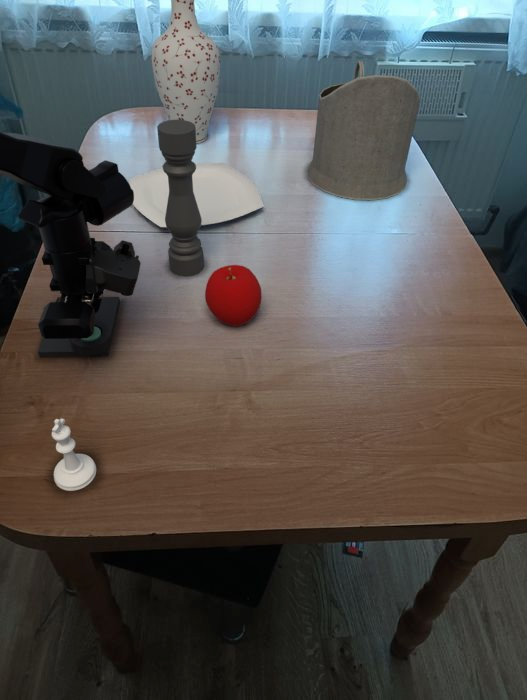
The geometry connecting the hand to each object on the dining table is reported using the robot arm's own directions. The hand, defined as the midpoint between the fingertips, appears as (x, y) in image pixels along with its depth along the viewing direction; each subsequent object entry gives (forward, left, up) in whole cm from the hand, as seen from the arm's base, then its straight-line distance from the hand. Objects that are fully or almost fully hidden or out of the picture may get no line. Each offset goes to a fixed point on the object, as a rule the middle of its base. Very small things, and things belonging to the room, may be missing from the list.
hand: (89, 332), depth 79 cm
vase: (+37, +71, -3) cm, 80 cm away
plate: (+28, +39, -3) cm, 48 cm away
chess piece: (-6, -21, -3) cm, 22 cm away
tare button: (0, 0, -2) cm, 2 cm away
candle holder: (+19, +16, -3) cm, 25 cm away
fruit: (+22, 0, -3) cm, 23 cm away
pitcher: (+69, +41, -3) cm, 81 cm away
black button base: (-1, +5, -3) cm, 6 cm away
